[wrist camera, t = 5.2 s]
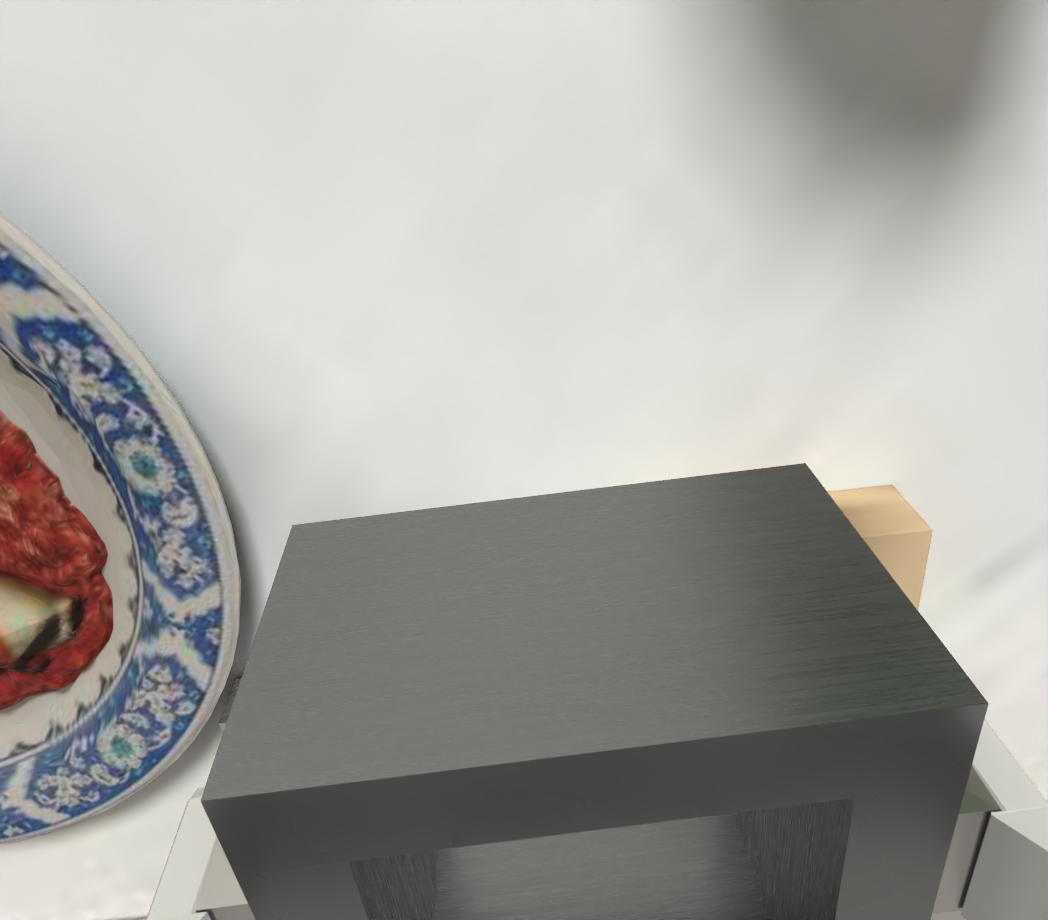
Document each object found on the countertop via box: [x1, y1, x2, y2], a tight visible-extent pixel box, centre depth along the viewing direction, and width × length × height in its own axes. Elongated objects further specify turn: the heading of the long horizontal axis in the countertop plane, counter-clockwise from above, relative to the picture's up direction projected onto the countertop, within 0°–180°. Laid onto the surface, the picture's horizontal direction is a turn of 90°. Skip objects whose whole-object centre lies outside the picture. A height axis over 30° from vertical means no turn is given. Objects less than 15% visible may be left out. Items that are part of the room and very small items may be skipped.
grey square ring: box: [201, 463, 988, 920], centre depth 10 cm, size 6×6×4 cm
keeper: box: [828, 485, 933, 610], centre depth 23 cm, size 8×7×8 cm
